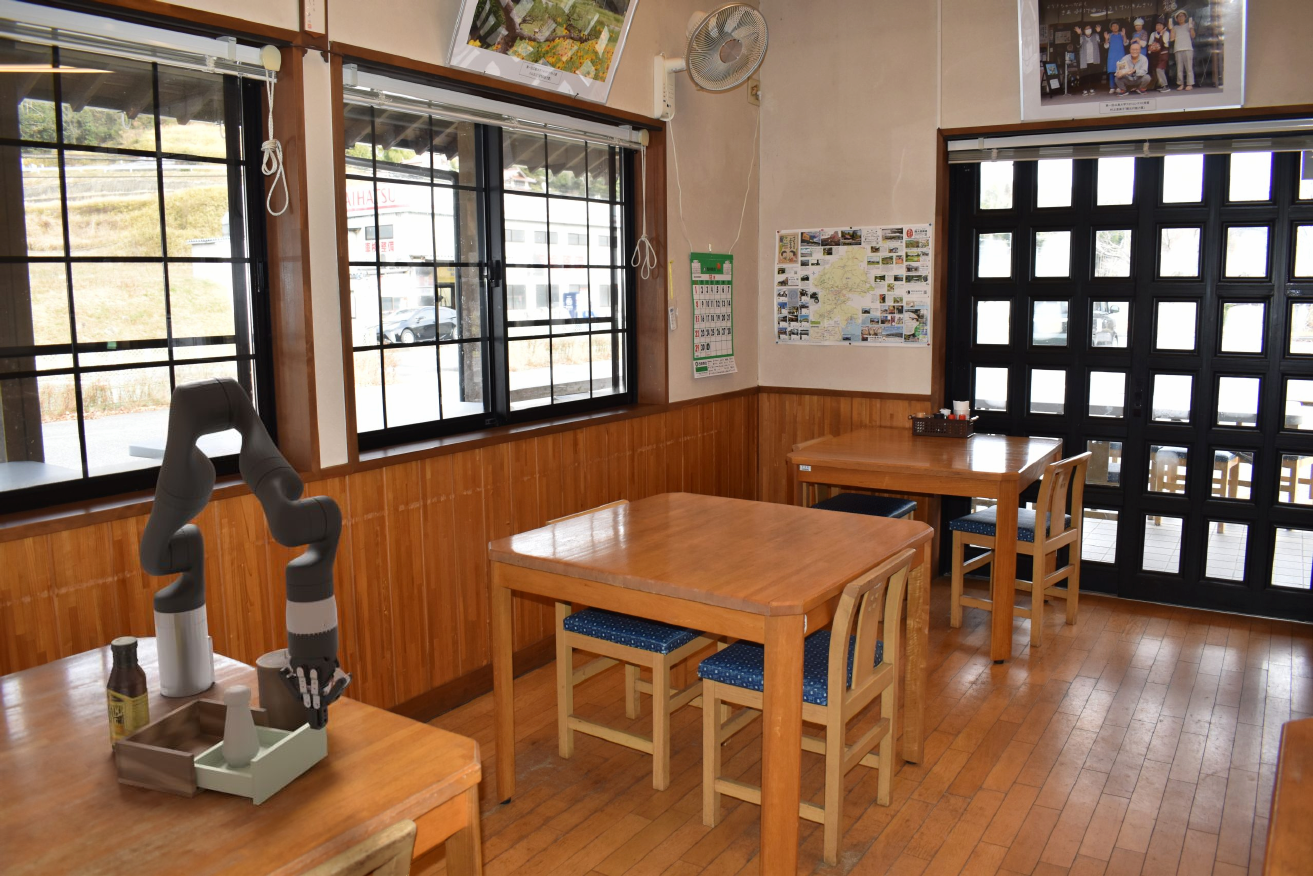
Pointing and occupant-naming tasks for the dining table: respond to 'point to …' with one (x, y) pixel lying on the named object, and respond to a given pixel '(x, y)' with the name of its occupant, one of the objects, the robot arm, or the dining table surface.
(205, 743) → the cabinet
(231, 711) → the salt shaker
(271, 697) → the pillar candle
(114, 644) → the sauce bottle
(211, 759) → the drawer
